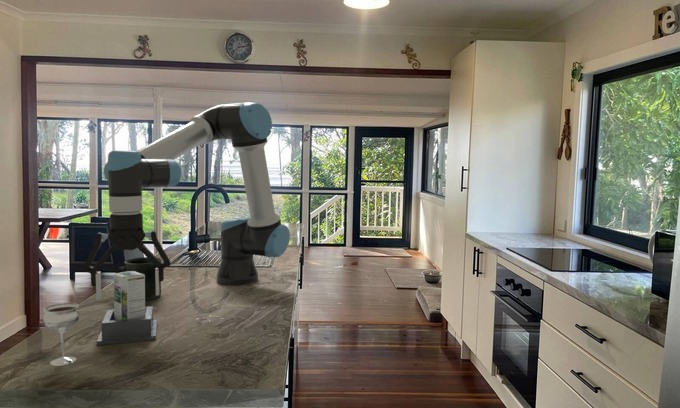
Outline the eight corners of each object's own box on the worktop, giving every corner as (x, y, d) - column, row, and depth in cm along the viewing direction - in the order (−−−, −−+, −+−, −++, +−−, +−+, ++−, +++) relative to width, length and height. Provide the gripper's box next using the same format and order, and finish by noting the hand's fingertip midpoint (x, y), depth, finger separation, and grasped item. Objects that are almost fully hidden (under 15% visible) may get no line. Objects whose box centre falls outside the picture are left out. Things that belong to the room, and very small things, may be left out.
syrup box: (113, 329, 121) (112, 273, 119) (136, 324, 125) (135, 269, 124) (123, 335, 117) (122, 277, 116) (146, 329, 121) (145, 273, 120)
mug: (154, 302, 148) (153, 264, 147) (108, 301, 149) (107, 263, 148) (167, 292, 159) (167, 257, 158) (124, 291, 159) (123, 256, 158)
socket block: (157, 322, 129) (157, 304, 129) (155, 339, 117) (155, 319, 116) (104, 327, 125) (103, 309, 124) (96, 345, 113) (96, 325, 112)
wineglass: (42, 369, 99) (40, 313, 98) (47, 357, 105) (45, 304, 104) (79, 364, 102) (77, 310, 101) (82, 353, 108) (80, 301, 107)
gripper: (178, 210, 126) (180, 288, 128) (72, 212, 118) (76, 296, 120) (179, 213, 119) (181, 295, 121) (66, 216, 111) (70, 304, 113)
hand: (128, 296), depth 120 cm, fingers open, 13 cm apart
